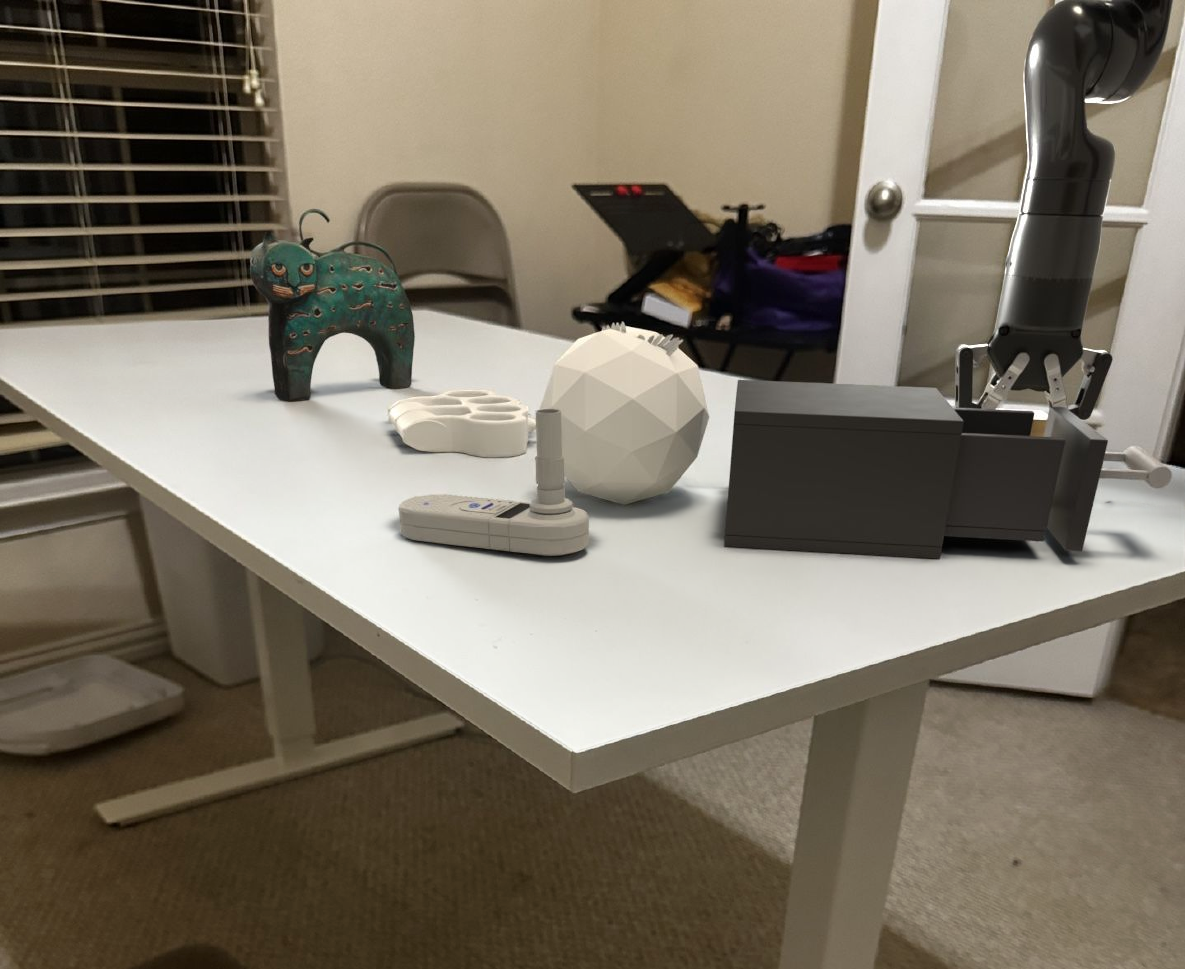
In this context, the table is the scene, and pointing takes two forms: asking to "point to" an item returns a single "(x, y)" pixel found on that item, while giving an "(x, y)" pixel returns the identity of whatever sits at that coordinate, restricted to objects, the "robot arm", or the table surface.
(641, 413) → the geodesic sphere
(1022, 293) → the robot arm
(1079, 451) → the open drawer
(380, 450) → the table surface
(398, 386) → the ceramic cat
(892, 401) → the dark grey box
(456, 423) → the white tray with wells
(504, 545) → the electronic device
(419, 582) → the table surface
